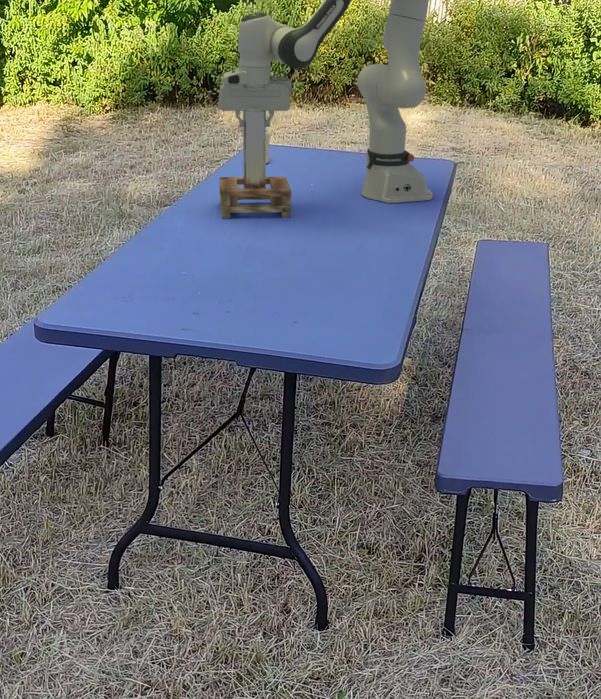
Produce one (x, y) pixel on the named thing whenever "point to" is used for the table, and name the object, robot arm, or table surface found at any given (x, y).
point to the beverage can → (267, 145)
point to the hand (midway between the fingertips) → (254, 126)
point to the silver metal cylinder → (254, 148)
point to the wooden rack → (255, 196)
